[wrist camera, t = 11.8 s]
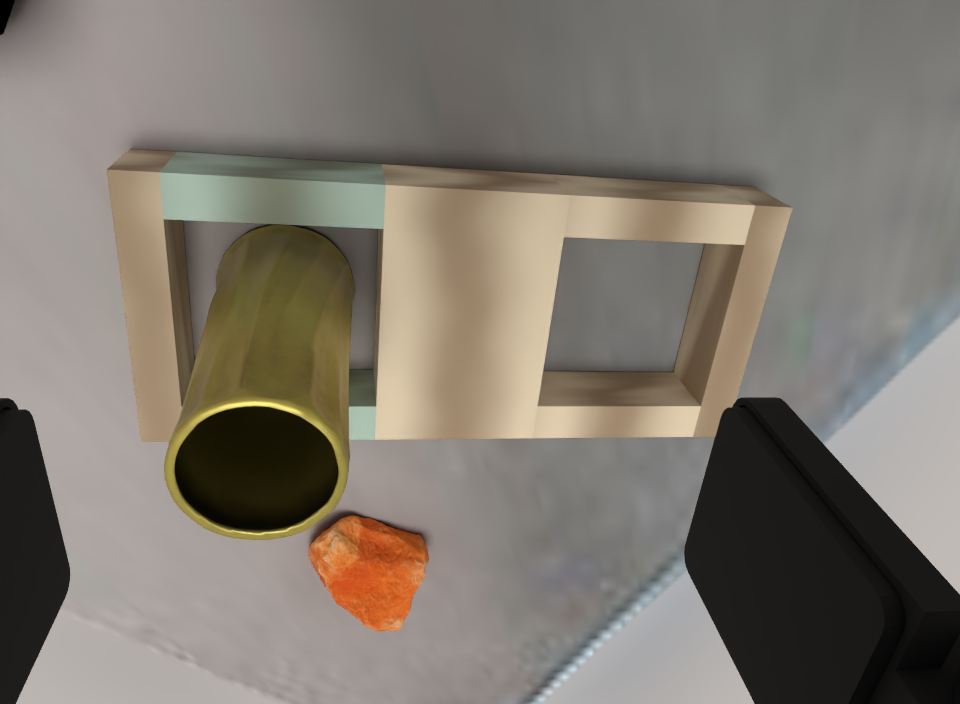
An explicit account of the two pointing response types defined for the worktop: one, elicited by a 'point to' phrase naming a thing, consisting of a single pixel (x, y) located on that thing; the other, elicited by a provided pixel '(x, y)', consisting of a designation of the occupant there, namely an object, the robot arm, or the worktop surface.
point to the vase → (268, 390)
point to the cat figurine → (5, 13)
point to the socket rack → (456, 288)
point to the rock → (370, 569)
